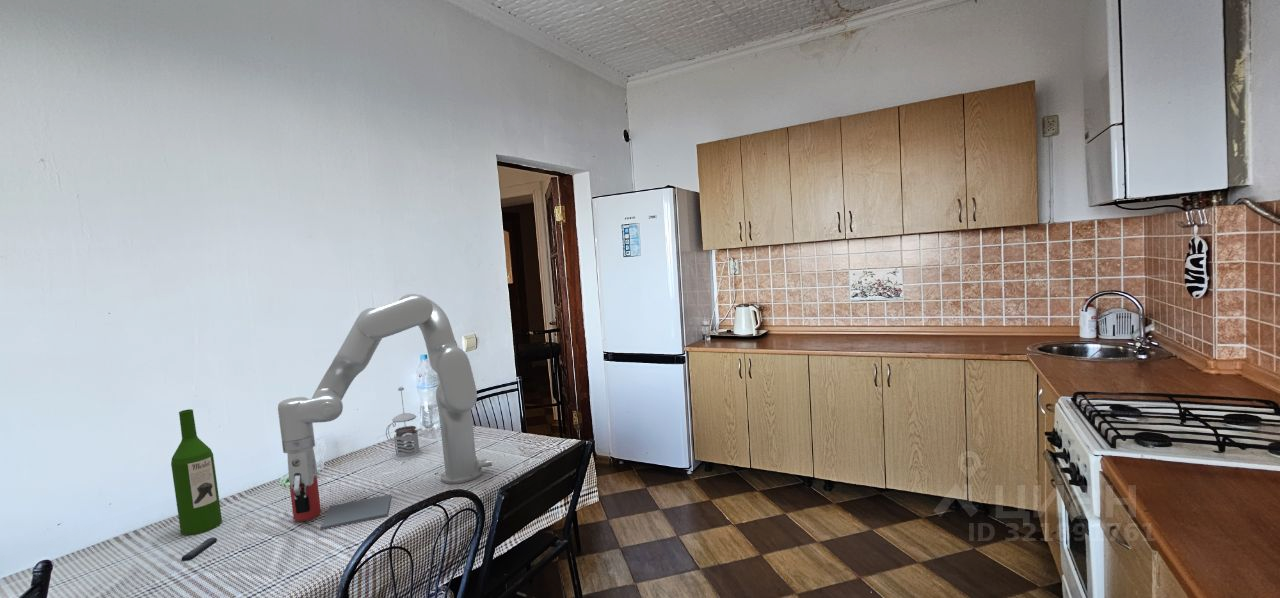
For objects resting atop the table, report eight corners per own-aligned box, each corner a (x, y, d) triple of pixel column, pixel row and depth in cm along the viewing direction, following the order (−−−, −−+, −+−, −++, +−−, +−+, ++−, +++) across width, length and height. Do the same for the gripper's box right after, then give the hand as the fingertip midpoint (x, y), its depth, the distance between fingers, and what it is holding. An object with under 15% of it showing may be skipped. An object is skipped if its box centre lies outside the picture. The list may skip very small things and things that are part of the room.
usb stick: (208, 542, 144) (207, 537, 144) (218, 542, 144) (218, 536, 144) (180, 562, 135) (179, 556, 135) (191, 561, 135) (190, 555, 135)
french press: (416, 459, 196) (408, 389, 194) (383, 461, 196) (375, 391, 194) (427, 449, 205) (420, 382, 203) (395, 452, 206) (388, 385, 204)
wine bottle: (194, 537, 147) (178, 416, 145) (173, 533, 150) (156, 415, 148) (229, 521, 155) (214, 406, 153) (208, 518, 159) (193, 405, 156)
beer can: (308, 523, 150) (303, 479, 150) (287, 522, 152) (282, 479, 151) (326, 512, 157) (322, 470, 156) (306, 511, 158) (301, 470, 157)
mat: (391, 496, 164) (391, 494, 164) (387, 516, 151) (387, 513, 151) (330, 508, 159) (329, 506, 159) (320, 530, 146) (320, 527, 146)
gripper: (307, 450, 146) (315, 516, 147) (320, 432, 162) (327, 492, 163) (274, 455, 143) (282, 523, 145) (290, 437, 160) (298, 497, 161)
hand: (306, 506), depth 154 cm, fingers closed on beer can, 6 cm apart
